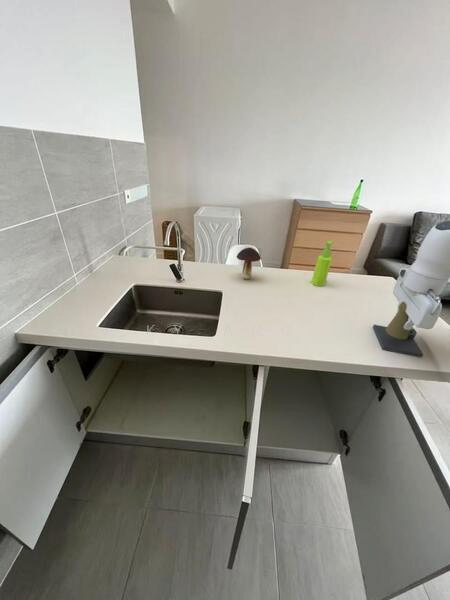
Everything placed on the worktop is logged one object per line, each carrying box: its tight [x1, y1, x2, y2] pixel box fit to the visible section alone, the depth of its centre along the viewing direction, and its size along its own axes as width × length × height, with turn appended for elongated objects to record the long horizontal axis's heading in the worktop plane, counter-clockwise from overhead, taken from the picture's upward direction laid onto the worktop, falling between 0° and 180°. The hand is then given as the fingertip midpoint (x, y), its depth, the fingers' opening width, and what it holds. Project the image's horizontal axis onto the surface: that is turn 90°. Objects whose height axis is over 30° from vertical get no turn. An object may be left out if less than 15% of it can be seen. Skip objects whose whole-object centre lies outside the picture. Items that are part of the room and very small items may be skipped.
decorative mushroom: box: [236, 247, 262, 280], centre depth 110 cm, size 11×11×15 cm
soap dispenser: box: [311, 239, 334, 287], centre depth 109 cm, size 6×7×20 cm
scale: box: [372, 324, 424, 358], centre depth 79 cm, size 12×13×3 cm
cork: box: [386, 301, 410, 339], centre depth 73 cm, size 6×6×11 cm
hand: (402, 322), depth 74 cm, fingers closed on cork, 4 cm apart
